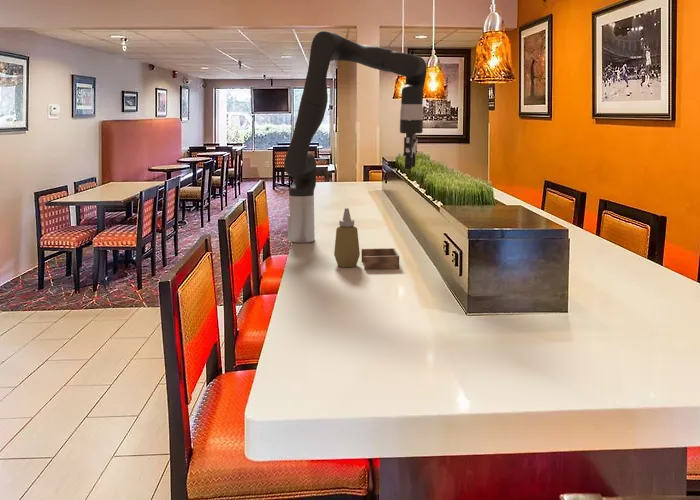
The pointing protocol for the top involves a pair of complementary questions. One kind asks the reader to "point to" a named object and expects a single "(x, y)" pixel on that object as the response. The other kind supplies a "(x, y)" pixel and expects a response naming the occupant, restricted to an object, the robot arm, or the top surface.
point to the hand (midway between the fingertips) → (410, 168)
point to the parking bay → (380, 258)
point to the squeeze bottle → (346, 242)
